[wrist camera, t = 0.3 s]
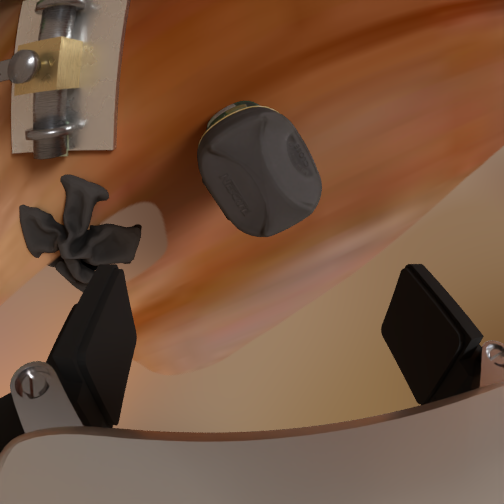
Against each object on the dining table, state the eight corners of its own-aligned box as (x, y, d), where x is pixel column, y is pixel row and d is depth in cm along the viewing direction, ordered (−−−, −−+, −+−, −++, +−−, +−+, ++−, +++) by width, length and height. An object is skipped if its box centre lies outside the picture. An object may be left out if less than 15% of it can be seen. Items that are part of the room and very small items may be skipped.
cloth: (7, 223, 39) (-13, 241, 34) (74, 143, 35) (53, 154, 30) (97, 318, 49) (87, 343, 44) (176, 263, 45) (171, 288, 40)
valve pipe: (27, 2, 23) (-2, -6, 17) (133, -18, 25) (116, -36, 19) (17, 156, 34) (-12, 170, 27) (116, 153, 36) (95, 168, 30)
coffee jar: (292, 156, 38) (345, 212, 22) (237, 187, 40) (249, 264, 24) (254, 89, 34) (282, 90, 18) (196, 123, 35) (173, 154, 19)
